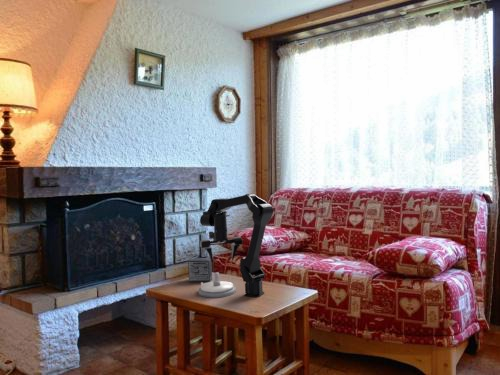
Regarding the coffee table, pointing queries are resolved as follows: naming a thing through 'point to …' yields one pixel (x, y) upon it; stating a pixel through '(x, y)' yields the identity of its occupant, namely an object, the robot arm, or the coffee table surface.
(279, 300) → the coffee table surface
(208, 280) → the small box
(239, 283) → the coffee table surface
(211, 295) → the base plate
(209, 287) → the dial
